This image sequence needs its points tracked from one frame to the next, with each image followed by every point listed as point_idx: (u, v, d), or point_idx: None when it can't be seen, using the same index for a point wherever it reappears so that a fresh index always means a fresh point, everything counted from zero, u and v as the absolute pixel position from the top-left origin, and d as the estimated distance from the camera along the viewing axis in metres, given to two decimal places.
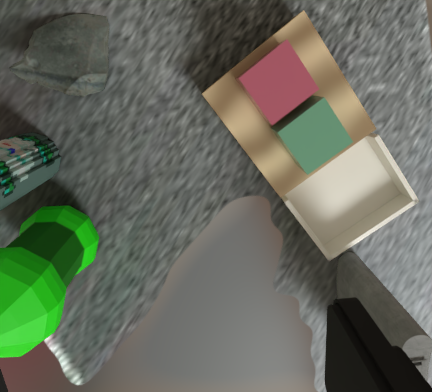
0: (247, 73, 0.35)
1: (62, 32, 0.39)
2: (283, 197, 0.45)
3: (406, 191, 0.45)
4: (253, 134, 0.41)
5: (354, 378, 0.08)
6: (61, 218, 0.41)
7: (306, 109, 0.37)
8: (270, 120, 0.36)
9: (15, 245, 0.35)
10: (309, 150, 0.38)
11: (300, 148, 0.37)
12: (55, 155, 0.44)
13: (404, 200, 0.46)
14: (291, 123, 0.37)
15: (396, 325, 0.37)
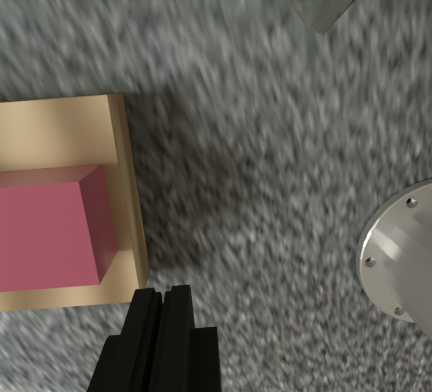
0: (78, 200, 0.18)
1: None
2: None
3: None
4: None
5: None
6: None
7: None
8: None
9: None
10: None
11: None
12: None
13: None
14: None
15: None
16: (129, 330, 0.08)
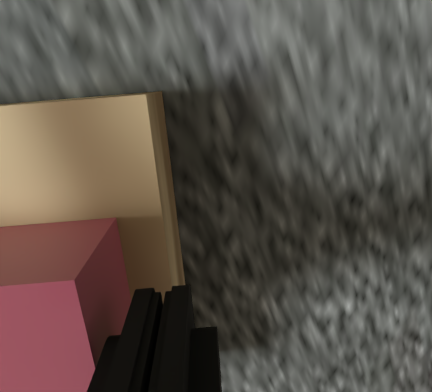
0: (75, 315, 0.08)
1: None
2: None
3: None
4: None
5: None
6: None
7: None
8: None
9: None
10: None
11: None
12: None
13: None
14: None
15: None
16: (129, 330, 0.08)
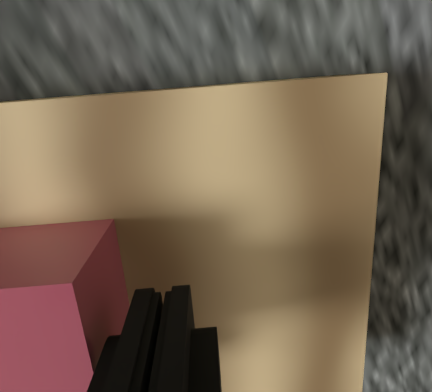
0: (73, 318, 0.08)
1: None
2: None
3: None
4: (159, 155, 0.11)
5: None
6: None
7: None
8: None
9: None
10: None
11: None
12: None
13: None
14: None
15: None
16: (129, 330, 0.08)
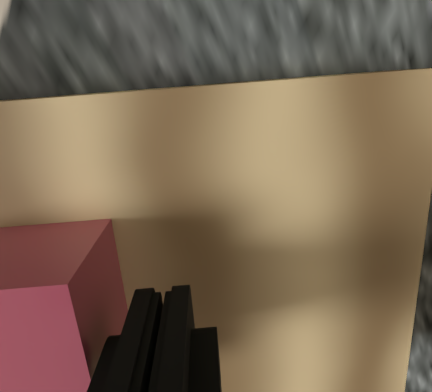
0: (68, 320, 0.08)
1: None
2: None
3: None
4: (214, 150, 0.11)
5: None
6: None
7: None
8: None
9: None
10: None
11: None
12: None
13: None
14: None
15: None
16: (129, 330, 0.08)
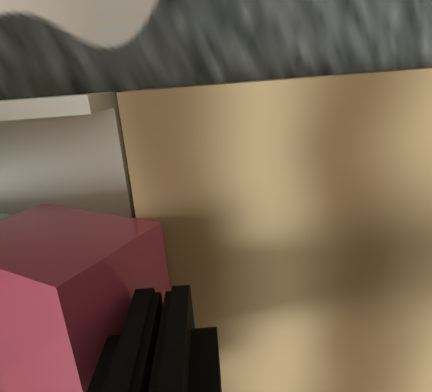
0: (60, 321, 0.08)
1: None
2: (102, 101, 0.12)
3: None
4: (392, 136, 0.11)
5: None
6: None
7: None
8: None
9: None
10: None
11: None
12: None
13: None
14: None
15: None
16: (129, 330, 0.08)
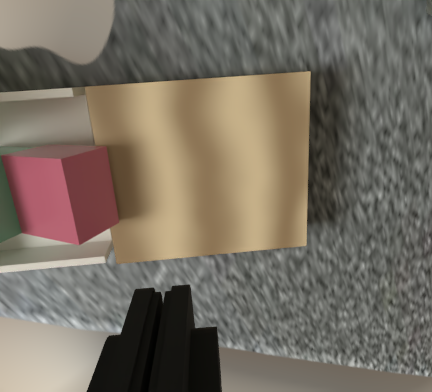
0: (62, 174, 0.22)
1: None
2: (78, 91, 0.26)
3: None
4: (210, 107, 0.25)
5: None
6: None
7: None
8: (6, 157, 0.24)
9: None
10: None
11: None
12: None
13: None
14: None
15: None
16: (129, 330, 0.08)
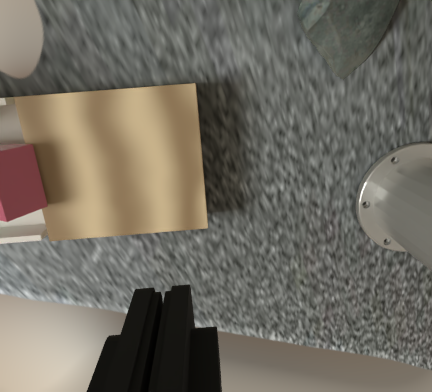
0: None
1: (373, 24, 0.31)
2: None
3: None
4: (115, 112, 0.31)
5: None
6: None
7: None
8: None
9: None
10: None
11: None
12: None
13: None
14: None
15: None
16: (129, 330, 0.08)
